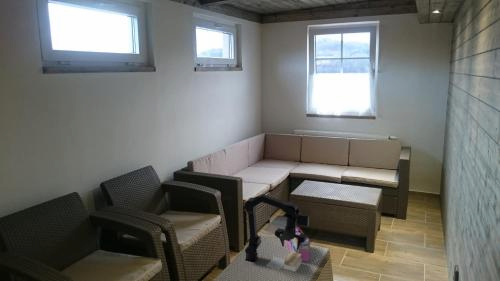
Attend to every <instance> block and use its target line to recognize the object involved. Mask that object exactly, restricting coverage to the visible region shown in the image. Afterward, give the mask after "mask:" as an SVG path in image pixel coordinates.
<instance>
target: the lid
mask: <svg viewBox="0 0 500 281" xmlns="http://www.w3.org/2000/svg"><path fill="white" fill-rule="evenodd" d="M284 259H285V260H284V264H285V265H289V266H292V267H295V266H296V265H297V263H298V262H299V261H300V260H301V254H299V253H295V252H291V251H290V253H288V255H287V256H286V258H284Z"/></svg>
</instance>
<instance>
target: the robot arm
mask: <svg viewBox="0 0 500 281" xmlns="http://www.w3.org/2000/svg"><path fill="white" fill-rule="evenodd" d="M261 203H264V204H266V205H269V206H272V207H275V208H278V209H280V210H281V211H282V212H284V214H283V215H282V217H284V218H285V219H286V221H285V228H284V229H283V228H277V229H276V230H275V231H274V236H275V237H276V238H278V239H279V241H280V244H281V246H282V248H283V247H284V246H285V241H286V242H287V241H290V240H291V239H294V238H298V241H297V251H298V249H299V247H300V244H301V243H302V242H305V241H306V239H307V238H308V234H306V233H304V234H302V233H301V234H300V235H296V226H298V227H299V226H300V227H306V228H308V227H309V225H310V217H309V214H303V213H301V211H300V210H299V208H298V205H297V203H296V202H294V201H284V200H281V199H278V198H275V197H272V196H269V195H266V194H265V193H261V194H260V195H256V196H254V197H249V198H248V199H247V200H246V201H245V202H244V209H245V212H246V213H247V218H248V226H249V227H248V228H249V239H248V245H247V246H246V247H245V249H244V251H245V259H244V261H247V262H250V263H255V262H256V261H258V259H259V257H258V256H259V253H258V248H259V247H260V246H261V243H262V240H261V239H262V236H261V235H260V236H259V235H258V228H257V217H256V211H257V207H258V205H259V204H261Z"/></svg>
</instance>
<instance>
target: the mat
mask: <svg viewBox="0 0 500 281" xmlns="http://www.w3.org/2000/svg"><path fill="white" fill-rule="evenodd" d="M284 260H285V258H281V257H277V256H273V258H272V259H271V260H270V261H269V262H268V263H267V264H266V265H265V266H266V267H268V268H271V269H275V270H278V271H280V270H281V269H282V268H283V266H284Z"/></svg>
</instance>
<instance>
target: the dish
mask: <svg viewBox="0 0 500 281" xmlns="http://www.w3.org/2000/svg"><path fill="white" fill-rule="evenodd" d="M301 265H302V261H301V260H300V261H299V262H298V263H297V265H296V266H295V267H292V266H289V265H285V264H284V265H283V266H284V268H283V269H284V270H288V271H291V272H297V270H298V269H299V268H300V266H301Z"/></svg>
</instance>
